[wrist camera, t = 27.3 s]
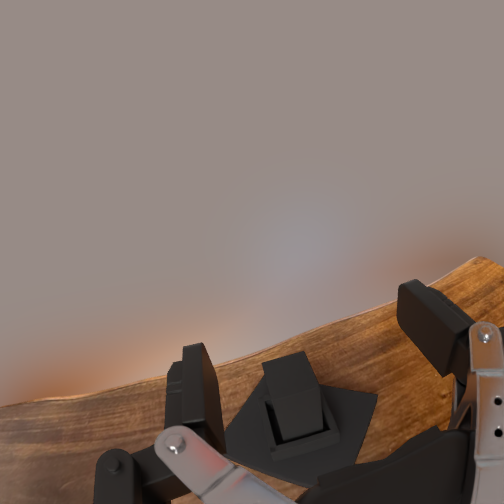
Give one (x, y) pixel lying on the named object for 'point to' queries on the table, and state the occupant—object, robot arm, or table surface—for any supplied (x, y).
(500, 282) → the table surface
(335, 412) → the socket pad
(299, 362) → the black rectangular block
